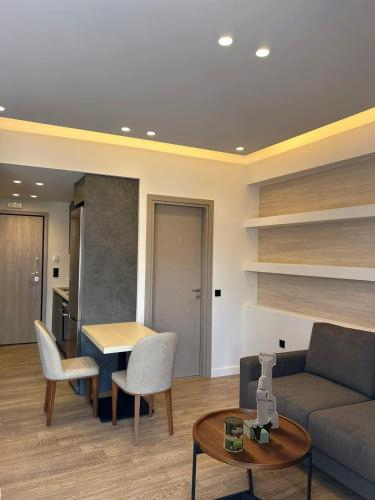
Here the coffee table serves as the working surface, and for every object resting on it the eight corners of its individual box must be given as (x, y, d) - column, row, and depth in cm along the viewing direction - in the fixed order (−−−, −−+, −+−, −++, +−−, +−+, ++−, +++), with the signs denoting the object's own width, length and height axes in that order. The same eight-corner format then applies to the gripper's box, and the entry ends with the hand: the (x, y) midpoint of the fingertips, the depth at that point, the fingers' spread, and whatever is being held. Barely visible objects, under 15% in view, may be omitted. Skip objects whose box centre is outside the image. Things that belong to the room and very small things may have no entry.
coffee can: (247, 450, 189) (247, 422, 189) (229, 454, 184) (230, 425, 185) (236, 441, 198) (237, 415, 199) (219, 445, 194) (220, 417, 195)
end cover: (259, 434, 207) (259, 425, 208) (268, 442, 197) (268, 432, 198) (251, 435, 206) (251, 425, 206) (259, 443, 196) (259, 433, 196)
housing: (259, 429, 214) (259, 418, 214) (267, 437, 204) (268, 425, 204) (242, 431, 211) (242, 420, 211) (249, 439, 201) (249, 427, 202)
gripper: (265, 407, 208) (265, 432, 207) (247, 413, 198) (247, 439, 197) (275, 411, 202) (275, 436, 201) (258, 417, 193) (258, 443, 192)
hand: (262, 438), depth 199 cm, fingers open, 7 cm apart
